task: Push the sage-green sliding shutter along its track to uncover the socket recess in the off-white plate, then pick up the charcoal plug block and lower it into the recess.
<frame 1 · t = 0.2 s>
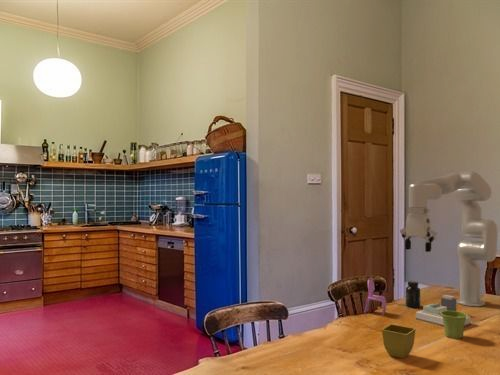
hand: (417, 250, 189), 30 cm above the table, tool pointing down, fingers open, 9 cm apart
flower pot: (398, 355, 146), on the table
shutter: (435, 308, 188), point 5 cm above the table, slide at 0.0 cm
supplement bottle: (413, 306, 210), on the table
plant pot: (453, 336, 166), on the table
socket plate: (442, 321, 185), on the table
toy chair: (375, 313, 199), on the table
plug: (448, 313, 197), on the table
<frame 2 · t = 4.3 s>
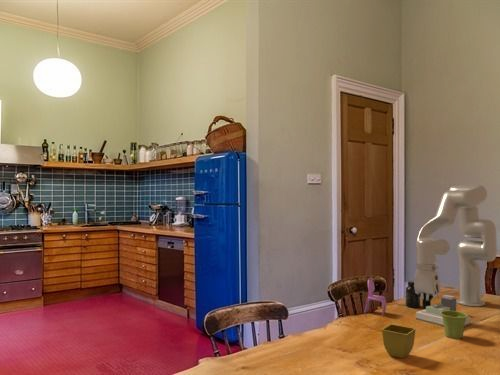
hand: (426, 308, 191), 4 cm above the table, tool pointing down, fingers closed
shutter: (437, 308, 187), point 5 cm above the table, slide at 1.3 cm, touching gripper
everything else where it was.
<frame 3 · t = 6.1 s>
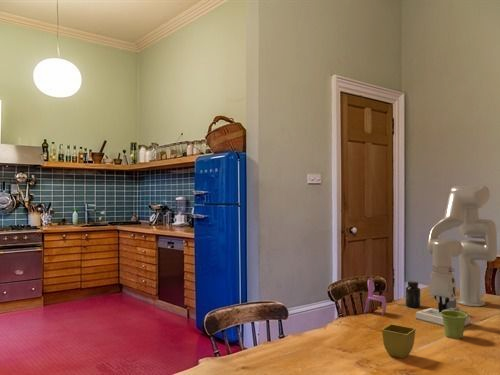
hand: (442, 312, 185), 4 cm above the table, tool pointing down, fingers closed
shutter: (454, 312, 181), point 5 cm above the table, slide at 8.8 cm, touching gripper
everything else where it was.
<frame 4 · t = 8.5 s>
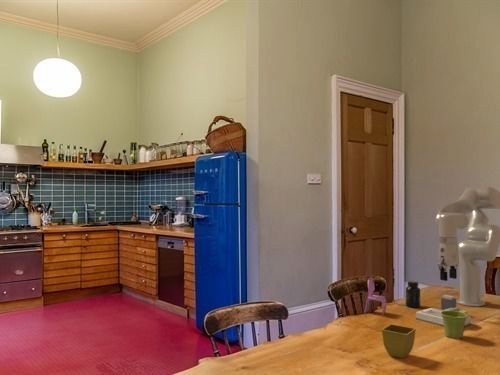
hand: (448, 279, 198), 16 cm above the table, tool pointing down, fingers open, 7 cm apart
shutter: (454, 312, 181), point 5 cm above the table, slide at 8.8 cm
everything else where it was.
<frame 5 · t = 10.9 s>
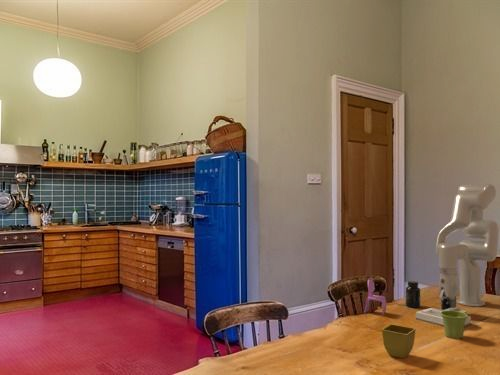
hand: (448, 311, 197), 1 cm above the table, tool pointing down, fingers closed on plug, 4 cm apart
plug: (448, 313, 197), on the table, touching gripper
everything else where it was.
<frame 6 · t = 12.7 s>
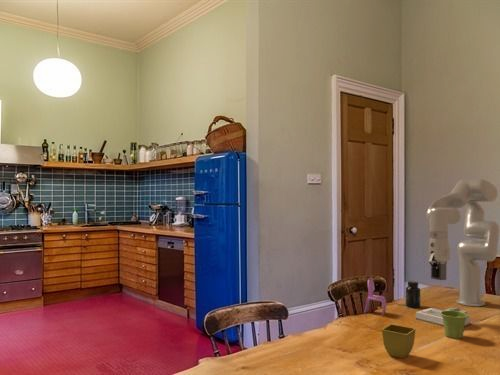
hand: (438, 276, 191), 18 cm above the table, tool pointing down, fingers closed on plug, 4 cm apart
plug: (438, 279, 191), point 17 cm above the table, touching gripper
everything else where it was.
when the fingers open (3 cm above the table, at t = 15.0 s): plug drops 2 cm, resting on socket plate.
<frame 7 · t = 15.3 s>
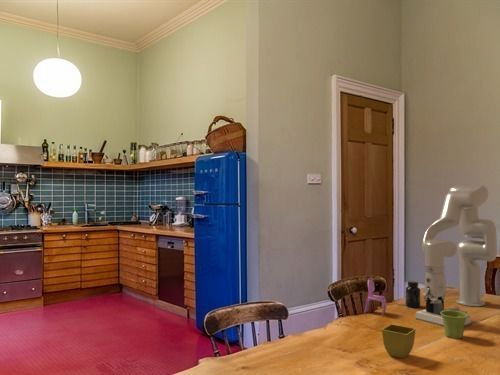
hand: (435, 310, 188), 4 cm above the table, tool pointing down, fingers open, 7 cm apart
plug: (435, 318, 188), resting on socket plate
everything else where it was.
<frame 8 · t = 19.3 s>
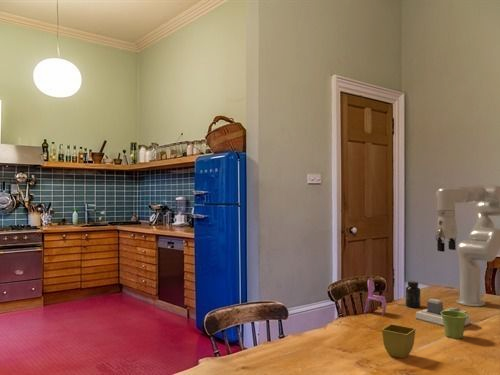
hand: (446, 250, 203), 28 cm above the table, tool pointing down, fingers open, 9 cm apart
nothing on the table moved.
at the end: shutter slide at 8.8 cm; plug 0.0 cm from the target spot on the socket plate, point 0.5 cm above the socket plate's base; plug tilted 0° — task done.
